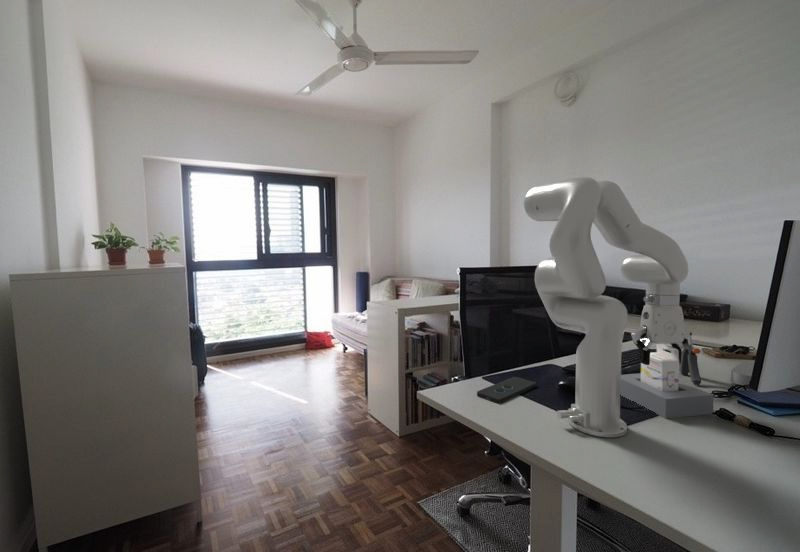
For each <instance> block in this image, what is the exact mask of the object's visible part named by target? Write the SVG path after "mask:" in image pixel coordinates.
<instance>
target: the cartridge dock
mask: <svg viewBox="0 0 800 552" xmlns="http://www.w3.org/2000/svg"><path fill="white" fill-rule="evenodd" d="M640 380H641V372H640V373H639V372H638V373H627V374H621V389H620V395H621V396H620V397H622V396H623V397H622V398H624V397H625V398H624V399H626V398H627V399H626V400H628V399H629V400H628V401H630V400H631V402H632V401H634V402H636V403H637V404H636V403H635V404H636V405H638V404H639V405H638V406H640V405H641V406H640V407H642V406H644V407H645V408H644V407H643V408H644V409H646V408H647V409H646V410H648V409H649V410H651V411H653V412H655V413H656V415H657V414H658V415H657V416H660V417H661V418H663V419H674V418H684V417H685V418H686V417H694V416H702V415H703V416H705V415H712V413H713V414H714V396H715V395H714V394H712V393H711V392H708V391H705V390H702V389H700V388H697V387H695V386H692V385H689V384H687V383H685V382H681V381H679V384H678V391H675V392H664V391H662V390H659V389H657V388H655V387H652V386H650V385H648V384H645V383H643V382H641V381H640ZM634 402H633V403H634ZM649 410H648V411H649ZM651 411H650V412H651ZM653 412H652V413H653ZM655 413H654V414H655Z"/></svg>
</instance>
